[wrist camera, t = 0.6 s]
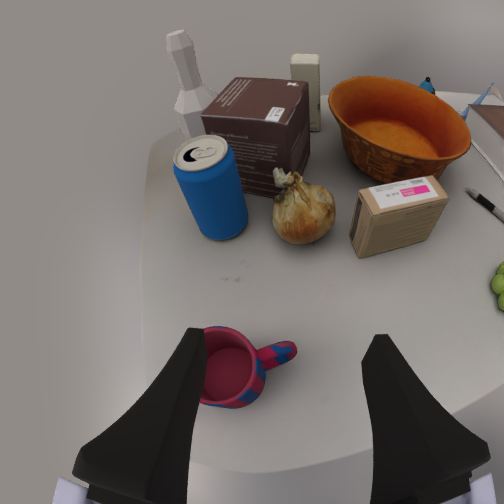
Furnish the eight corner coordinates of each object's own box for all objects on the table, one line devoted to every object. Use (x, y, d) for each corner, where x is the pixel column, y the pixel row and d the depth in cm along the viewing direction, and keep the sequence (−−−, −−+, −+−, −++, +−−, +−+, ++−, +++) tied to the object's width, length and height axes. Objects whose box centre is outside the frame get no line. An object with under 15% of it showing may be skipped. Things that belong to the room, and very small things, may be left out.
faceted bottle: (190, 157, 47) (148, 38, 28) (226, 143, 47) (195, 22, 29) (200, 179, 43) (153, 46, 25) (239, 164, 44) (207, 28, 25)
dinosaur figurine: (459, 130, 49) (440, 113, 45) (494, 87, 38) (478, 64, 34) (466, 138, 47) (448, 121, 43) (502, 94, 36) (487, 71, 32)
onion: (265, 252, 35) (256, 208, 28) (278, 201, 39) (273, 155, 32) (329, 261, 33) (336, 218, 26) (335, 208, 37) (340, 162, 30)
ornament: (427, 135, 43) (439, 89, 35) (405, 125, 45) (414, 80, 37) (432, 116, 46) (442, 75, 38) (412, 108, 48) (419, 67, 40)
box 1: (248, 144, 46) (234, 75, 35) (311, 154, 43) (310, 80, 32) (220, 189, 41) (196, 115, 31) (291, 204, 38) (286, 122, 27)
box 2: (320, 132, 46) (319, 64, 35) (294, 131, 47) (289, 63, 36) (320, 116, 48) (319, 53, 38) (296, 115, 49) (292, 52, 38)
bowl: (456, 151, 40) (472, 106, 32) (440, 237, 32) (470, 184, 24) (353, 111, 49) (356, 65, 40) (303, 176, 41) (301, 118, 32)
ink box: (414, 218, 34) (433, 173, 27) (427, 241, 32) (451, 198, 25) (346, 234, 35) (356, 186, 28) (357, 261, 33) (372, 215, 25)
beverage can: (202, 206, 40) (175, 138, 30) (248, 201, 39) (232, 128, 29) (198, 245, 37) (164, 177, 27) (249, 241, 36) (230, 167, 26)
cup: (197, 350, 30) (173, 332, 24) (291, 333, 29) (290, 311, 24) (204, 411, 26) (180, 409, 20) (304, 396, 26) (307, 390, 20)
